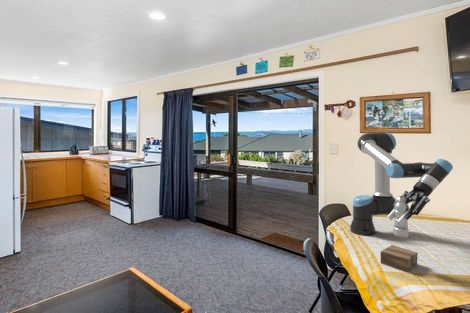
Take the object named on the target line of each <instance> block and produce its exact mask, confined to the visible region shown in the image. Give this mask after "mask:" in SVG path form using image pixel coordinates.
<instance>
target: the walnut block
mask: <svg viewBox="0 0 470 313" xmlns="http://www.w3.org/2000/svg"><path fill="white" fill-rule="evenodd" d="M418 254H419V253H418V252H416V251H414V250H409V249H407V248H402V247H399V246H395V245H394V244H393V245H392V244H390V245H389V246H388V247H386V248H384V249H382V250H381V251H380V264H382V265H386V266H387V267H391V268H393V269H397V270H399V271H403V272H406V273H408V272H409V271H411V270H412V269H413V268H415V267H416V266H417V265H418Z"/></svg>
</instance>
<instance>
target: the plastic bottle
mask: <svg viewBox="0 0 470 313" xmlns="http://www.w3.org/2000/svg"><path fill="white" fill-rule="evenodd" d="M396 198H397V199H396V201H398V202H397V203H396V204H395V205H394V212H395V217H394V226H393V230H392V233H393V235H394V236H395V237H397V238H401V239H405V238H407V237H409V234H410V230H409V226H408V225H409V222H408V220H409V219H408V220H407V221H406V222H405V223H404V224H403V225H401V224H400V223H399V222H398V220H399V219H400V218H401V217H402V216H403V214H404V213H405V212H406V211H408V210H409V209H410V206H409V204H407V203H406V197H404V196H402V195H398V196H397V197H396ZM408 212H409V211H408Z"/></svg>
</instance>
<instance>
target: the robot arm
mask: <svg viewBox="0 0 470 313" xmlns="http://www.w3.org/2000/svg"><path fill="white" fill-rule="evenodd" d="M396 146H397V140H396V138H395V136H394V135H393V133H390V132H366V133H363V134H362V135H361V136H360V137H359V138H358V140H357V148H358V149H359V150H360V152H362V154H365V155H368V156H369V157H370V158H372V160H374V192H373V193H372V195H370V194H360V195H356V196H354V198H353V200H352V221H351V223H350V227H349V230H350V232H351V233H353V234H356V235H359V236H360V235H362V236H373V235H375V234H376V227H375V224H374V222H373V216H386V217H387V218H388V219H389V220H390V221H393V220H394V219H395V212H394V205H395V204H396V203H397V202H398V201H397V199H396V198H395V197H394V195H393V193H391V185H390V183H391V182H390V179H404V178H405V179H406V178H409V179H411V178H419V179H418V181H417V182H416V183H415V184H414V185H413V187H412V188H413V189H412V190H411V191H408V190H405V191H404V192H403V194H402V195H401V196H404V197H406V203H407V205H409V203H411V205H410V206H409V210H408V211H409V212H408V211H406V212H405V213H404V214H403V216H402V217H401V218H400V219H399V220H398V222H399V223H400V224H401V225H403V224H404V223H405V222H406V221H407V220H409V219H411V217H412V216H414V215H415V216H419V214H420V213H421V211H422V210H423V208H425V206H426V205H427V204H428V203H429V202H431V199H430V198H429V196H430V195H431V194H432V193H433V192H434V190H435V189H436V188H438V186H439V185H440V184H441V183H442V182H443V180H445V179H446V177H447V176H448V175H450V173H451V172H452V170H453V169H454V168H453V167H454V166H453V164H452V163H451V162H449V161H448V160H446V159H444V158H438V159H437V160H435V161H434V162H433V163H431V162H430V163H429V162H428V163H427V162H421V161H420V162H417V161H416V162H412V163H411V162H408V163H407V162H404V163H403V162H401V161H400V160H399V159H397V158H395V157H394V156H393V155H392V154H393V150H395V148H396Z"/></svg>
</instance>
